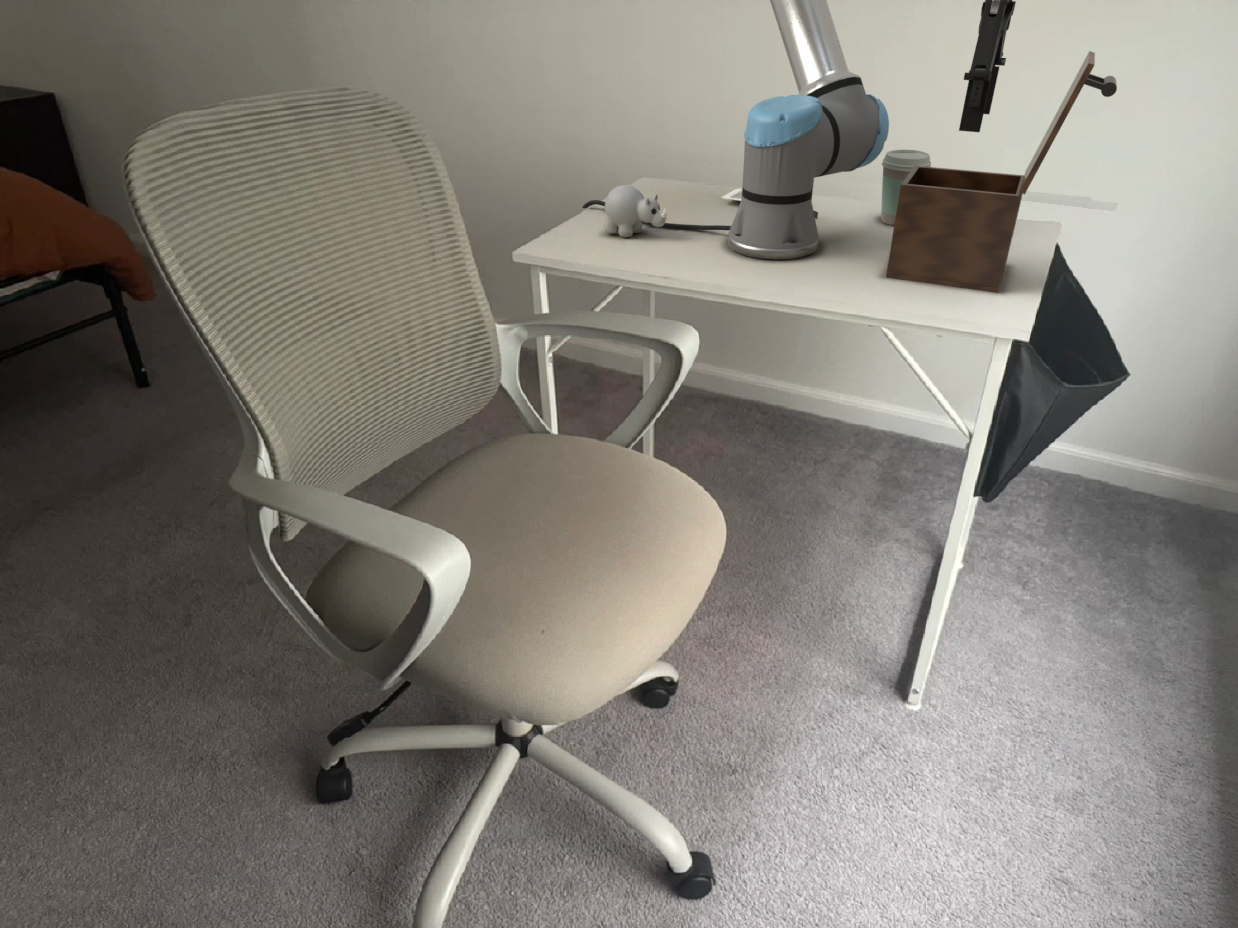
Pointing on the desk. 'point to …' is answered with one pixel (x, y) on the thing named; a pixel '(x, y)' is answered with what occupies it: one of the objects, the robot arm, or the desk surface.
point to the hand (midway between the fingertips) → (974, 122)
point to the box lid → (1082, 77)
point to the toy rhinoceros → (631, 211)
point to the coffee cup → (898, 178)
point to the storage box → (954, 227)
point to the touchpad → (734, 195)
